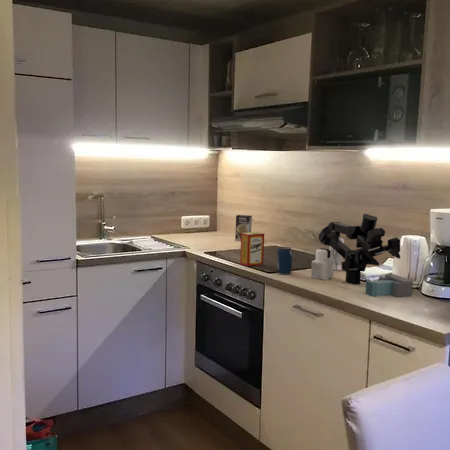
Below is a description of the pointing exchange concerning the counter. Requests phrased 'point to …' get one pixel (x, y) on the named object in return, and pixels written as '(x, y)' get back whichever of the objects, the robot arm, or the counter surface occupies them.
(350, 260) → the robot arm
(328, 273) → the container
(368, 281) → the teal rectangular block
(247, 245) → the baking soda box
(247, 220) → the coffee box
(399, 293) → the header
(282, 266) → the soda can
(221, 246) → the counter surface
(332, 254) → the beer glass
